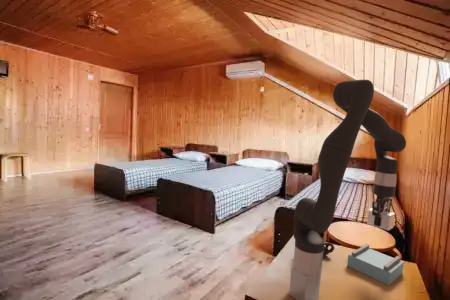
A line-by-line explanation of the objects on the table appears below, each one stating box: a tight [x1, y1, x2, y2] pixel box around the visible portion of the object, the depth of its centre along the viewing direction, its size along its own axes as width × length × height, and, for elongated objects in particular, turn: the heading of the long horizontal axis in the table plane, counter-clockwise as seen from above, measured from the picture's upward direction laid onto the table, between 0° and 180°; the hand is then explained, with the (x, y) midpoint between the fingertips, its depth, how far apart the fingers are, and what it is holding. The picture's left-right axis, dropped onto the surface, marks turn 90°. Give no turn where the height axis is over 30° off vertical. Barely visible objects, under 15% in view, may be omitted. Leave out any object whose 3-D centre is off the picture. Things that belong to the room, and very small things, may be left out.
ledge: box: [346, 243, 405, 286], centre depth 108 cm, size 14×16×6 cm
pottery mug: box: [321, 237, 335, 259], centre depth 119 cm, size 12×10×8 cm
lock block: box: [366, 207, 395, 231], centre depth 106 cm, size 5×8×6 cm, turn 39°
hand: (379, 224), depth 106 cm, fingers closed on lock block, 5 cm apart
